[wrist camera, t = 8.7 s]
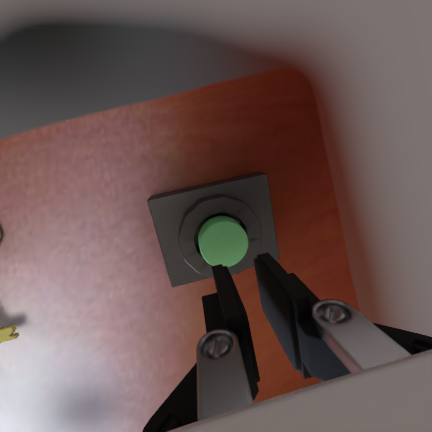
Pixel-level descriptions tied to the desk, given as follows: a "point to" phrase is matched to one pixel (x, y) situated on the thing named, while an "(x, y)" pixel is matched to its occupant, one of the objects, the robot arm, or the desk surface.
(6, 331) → the key
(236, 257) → the button
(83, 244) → the desk surface
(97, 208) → the desk surface
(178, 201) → the button box
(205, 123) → the desk surface
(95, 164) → the desk surface
